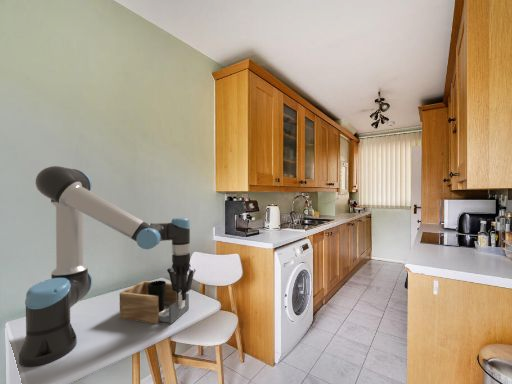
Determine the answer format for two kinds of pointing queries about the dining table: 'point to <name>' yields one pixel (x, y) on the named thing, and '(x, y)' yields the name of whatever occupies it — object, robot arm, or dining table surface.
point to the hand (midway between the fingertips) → (181, 307)
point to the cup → (158, 292)
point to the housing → (143, 303)
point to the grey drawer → (173, 311)
